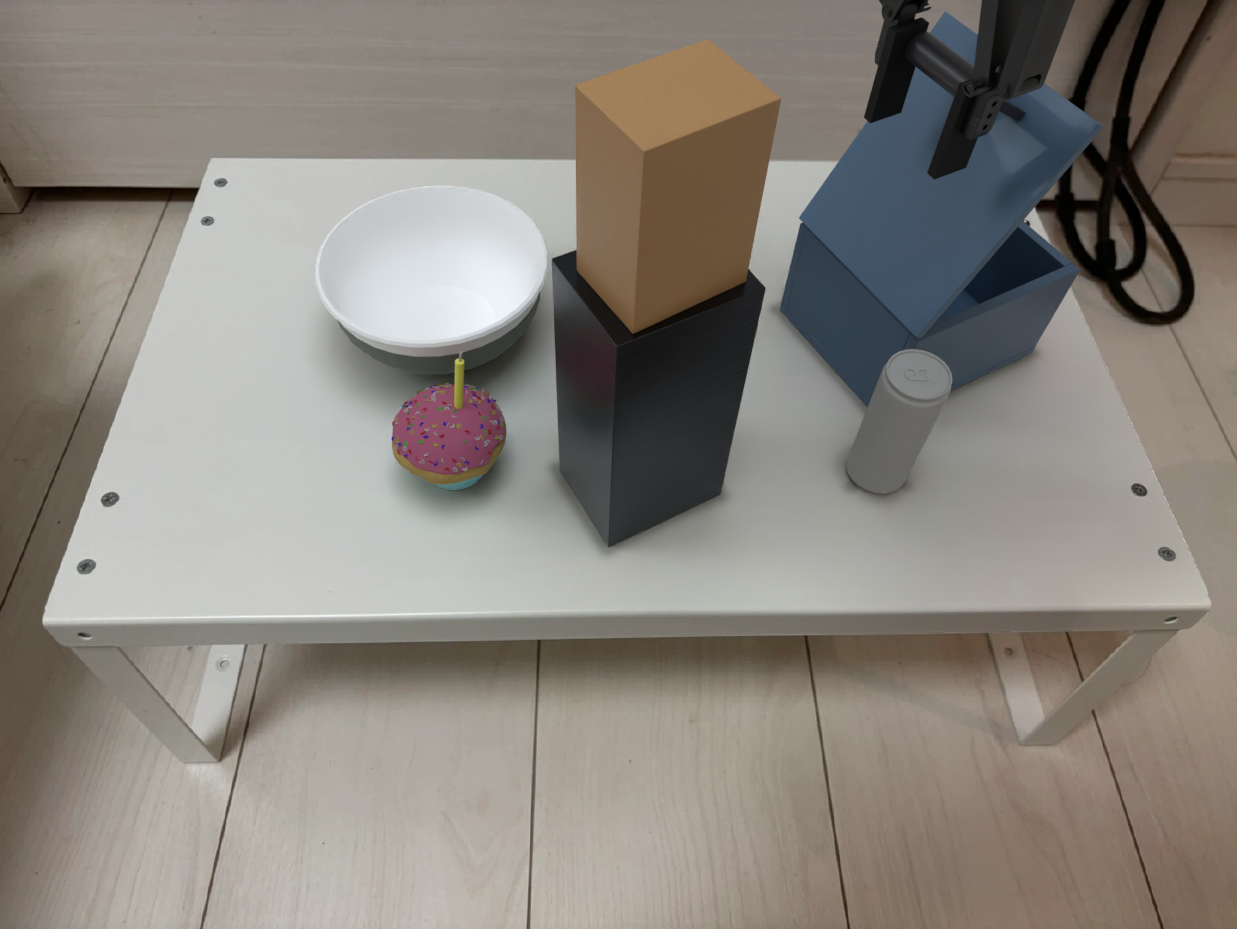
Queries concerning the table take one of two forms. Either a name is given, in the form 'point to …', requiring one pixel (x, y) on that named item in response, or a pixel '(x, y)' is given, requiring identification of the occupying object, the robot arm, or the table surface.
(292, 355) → the table surface
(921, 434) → the beverage can
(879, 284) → the lid
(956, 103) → the robot arm
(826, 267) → the chest
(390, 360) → the bowl
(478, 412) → the cupcake
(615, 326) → the stand
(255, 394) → the table surface
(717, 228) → the package
